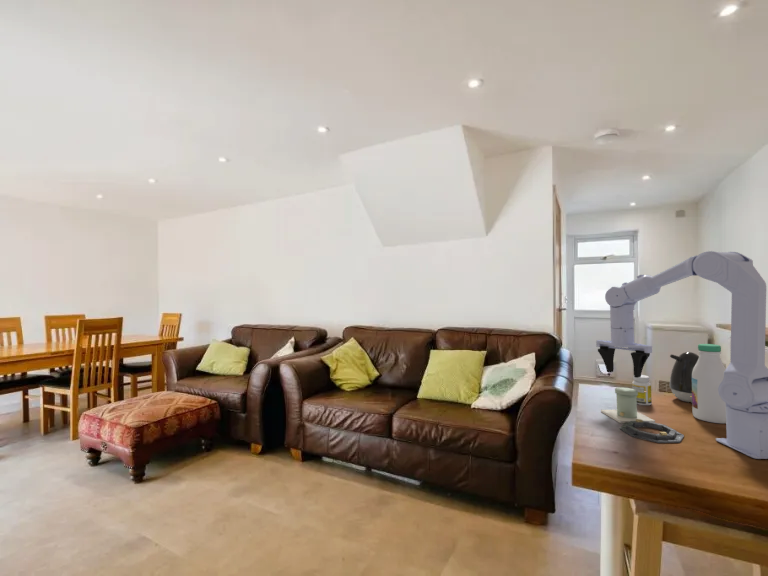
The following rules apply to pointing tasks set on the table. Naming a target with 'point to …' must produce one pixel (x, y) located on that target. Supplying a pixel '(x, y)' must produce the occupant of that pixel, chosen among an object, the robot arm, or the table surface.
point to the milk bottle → (708, 385)
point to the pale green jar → (626, 402)
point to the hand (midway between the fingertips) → (623, 374)
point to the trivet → (622, 420)
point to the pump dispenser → (683, 375)
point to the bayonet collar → (658, 438)
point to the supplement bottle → (642, 390)
